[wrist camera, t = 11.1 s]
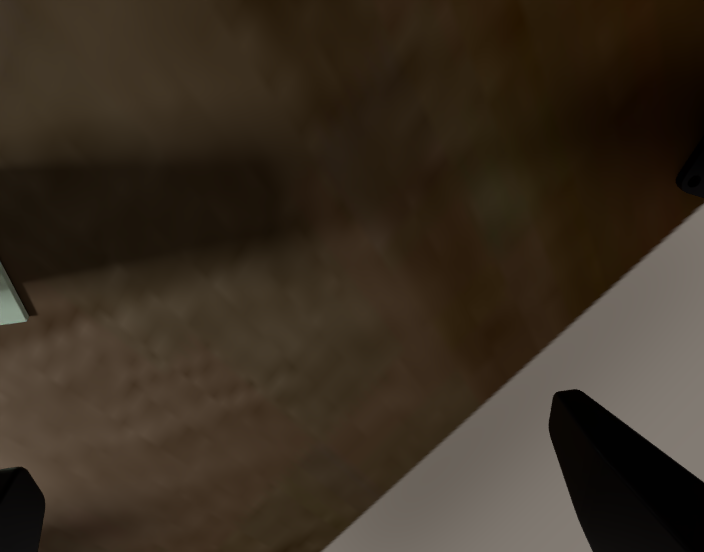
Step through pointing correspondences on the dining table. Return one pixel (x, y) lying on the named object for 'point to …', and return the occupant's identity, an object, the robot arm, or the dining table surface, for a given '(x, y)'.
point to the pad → (10, 302)
